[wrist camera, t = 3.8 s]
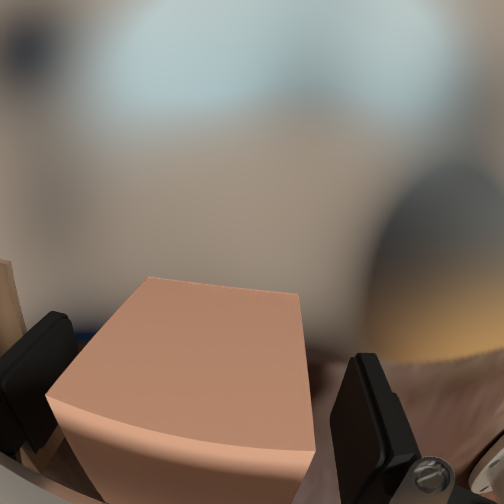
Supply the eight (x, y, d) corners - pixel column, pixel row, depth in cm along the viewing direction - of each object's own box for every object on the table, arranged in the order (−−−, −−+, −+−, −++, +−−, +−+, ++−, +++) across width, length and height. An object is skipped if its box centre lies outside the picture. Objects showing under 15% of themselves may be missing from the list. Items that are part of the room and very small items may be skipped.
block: (298, 293, 10) (315, 451, 4) (278, 402, 12) (273, 535, 6) (148, 276, 10) (44, 394, 4) (158, 385, 12) (105, 502, 6)
